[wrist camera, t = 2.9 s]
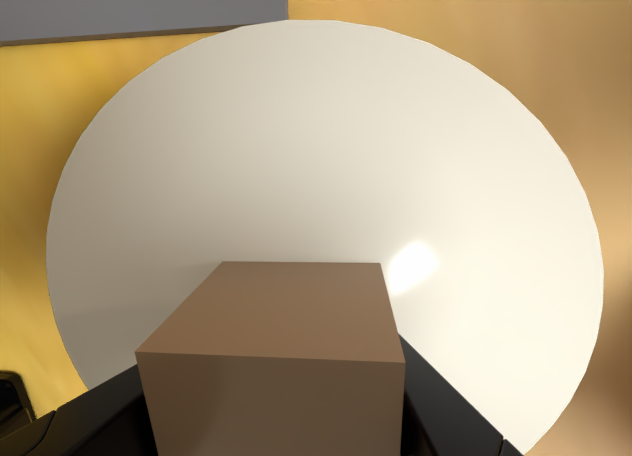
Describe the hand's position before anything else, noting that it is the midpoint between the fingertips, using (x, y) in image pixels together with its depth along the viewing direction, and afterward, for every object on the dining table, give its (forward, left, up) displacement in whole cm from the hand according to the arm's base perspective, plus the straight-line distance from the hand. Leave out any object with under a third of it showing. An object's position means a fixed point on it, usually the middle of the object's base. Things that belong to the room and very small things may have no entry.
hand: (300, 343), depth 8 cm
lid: (0, 0, -2) cm, 2 cm away
